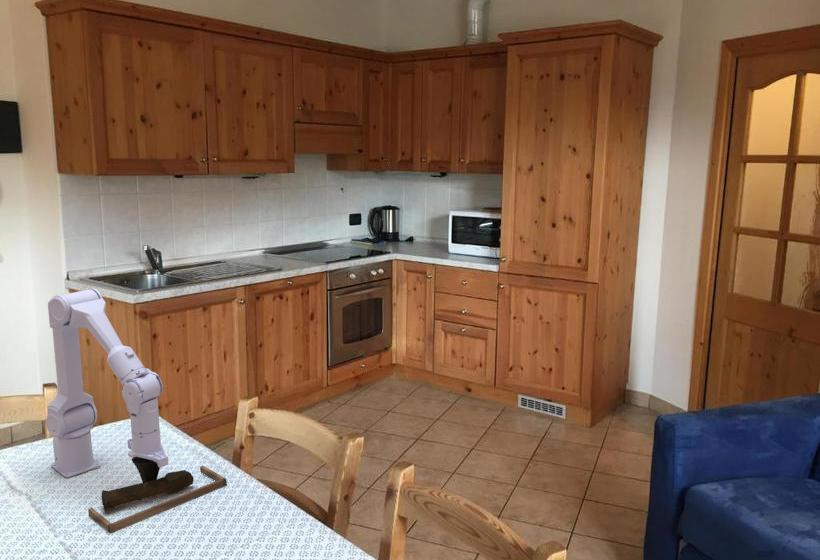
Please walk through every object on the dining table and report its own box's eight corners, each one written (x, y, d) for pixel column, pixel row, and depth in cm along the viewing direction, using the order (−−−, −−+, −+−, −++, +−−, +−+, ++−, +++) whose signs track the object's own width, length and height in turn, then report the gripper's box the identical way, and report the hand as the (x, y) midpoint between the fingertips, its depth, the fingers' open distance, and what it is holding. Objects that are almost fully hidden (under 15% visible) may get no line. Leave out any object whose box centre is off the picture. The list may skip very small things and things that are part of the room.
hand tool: (103, 515, 142) (103, 498, 140) (100, 501, 145) (100, 485, 143) (195, 493, 152) (197, 478, 150) (191, 481, 155) (192, 465, 152)
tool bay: (88, 515, 141) (88, 509, 141) (203, 471, 160) (203, 465, 160) (109, 533, 135) (109, 526, 134) (226, 485, 154) (226, 478, 154)
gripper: (112, 425, 150) (117, 482, 152) (143, 444, 140) (148, 505, 143) (143, 416, 155) (147, 471, 157) (175, 433, 145) (179, 492, 148)
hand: (150, 486), depth 150 cm, fingers closed
